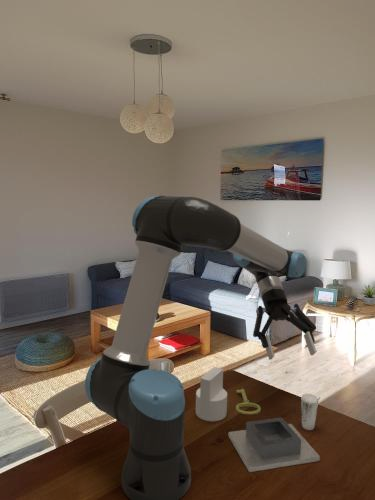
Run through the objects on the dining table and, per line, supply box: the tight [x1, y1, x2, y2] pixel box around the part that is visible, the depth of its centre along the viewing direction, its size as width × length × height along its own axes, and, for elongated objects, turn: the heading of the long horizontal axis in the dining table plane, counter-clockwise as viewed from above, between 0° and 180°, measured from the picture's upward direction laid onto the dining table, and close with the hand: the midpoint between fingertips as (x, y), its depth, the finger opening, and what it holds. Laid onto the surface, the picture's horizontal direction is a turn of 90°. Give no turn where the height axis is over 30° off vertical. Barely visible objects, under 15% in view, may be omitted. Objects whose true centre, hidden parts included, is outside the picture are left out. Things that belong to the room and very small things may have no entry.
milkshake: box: [300, 392, 321, 431], centre depth 108 cm, size 4×5×10 cm
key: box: [235, 388, 262, 415], centre depth 120 cm, size 7×12×2 cm, turn 21°
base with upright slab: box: [195, 366, 228, 422], centre depth 115 cm, size 9×9×12 cm
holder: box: [228, 417, 321, 473], centre depth 99 cm, size 18×14×5 cm
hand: (293, 355), depth 117 cm, fingers open, 13 cm apart
